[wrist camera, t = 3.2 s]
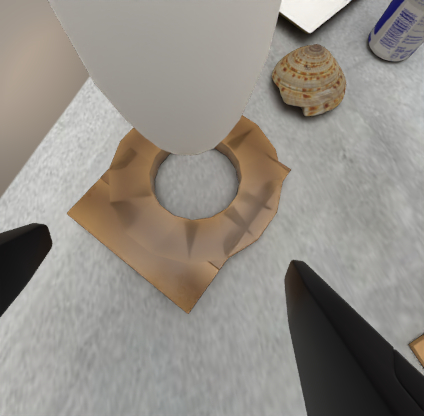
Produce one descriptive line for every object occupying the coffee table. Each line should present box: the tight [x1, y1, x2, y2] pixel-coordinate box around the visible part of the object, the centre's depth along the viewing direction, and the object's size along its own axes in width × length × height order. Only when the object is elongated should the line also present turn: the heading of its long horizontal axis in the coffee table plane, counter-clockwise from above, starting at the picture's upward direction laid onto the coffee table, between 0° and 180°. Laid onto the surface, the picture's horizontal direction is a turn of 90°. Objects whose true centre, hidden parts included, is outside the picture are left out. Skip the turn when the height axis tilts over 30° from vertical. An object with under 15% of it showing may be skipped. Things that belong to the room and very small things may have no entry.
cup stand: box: [67, 115, 291, 314], centre depth 22 cm, size 18×16×2 cm
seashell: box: [272, 44, 346, 116], centre depth 26 cm, size 8×6×8 cm
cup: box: [48, 0, 282, 155], centre depth 14 cm, size 7×7×21 cm
